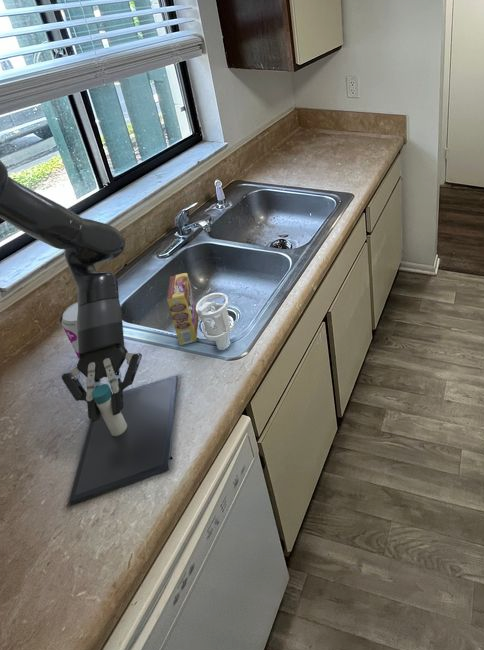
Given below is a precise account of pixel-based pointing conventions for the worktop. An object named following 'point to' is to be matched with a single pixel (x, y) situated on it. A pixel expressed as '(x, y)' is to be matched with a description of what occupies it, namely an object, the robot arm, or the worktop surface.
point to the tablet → (129, 442)
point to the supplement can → (71, 325)
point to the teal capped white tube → (108, 409)
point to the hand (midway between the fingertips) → (106, 416)
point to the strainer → (216, 320)
